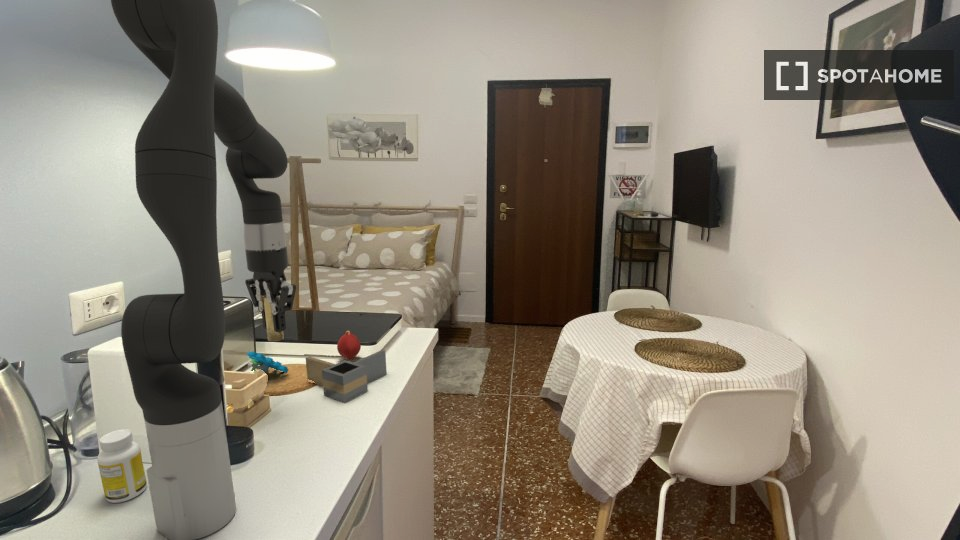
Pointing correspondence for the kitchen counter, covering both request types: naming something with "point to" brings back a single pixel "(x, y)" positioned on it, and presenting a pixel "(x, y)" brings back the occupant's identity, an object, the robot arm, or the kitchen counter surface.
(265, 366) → the blue fuzzy lump
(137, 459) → the supplement bottle
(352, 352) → the onion
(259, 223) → the robot arm
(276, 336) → the hinge pin
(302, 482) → the kitchen counter surface
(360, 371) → the hinge
